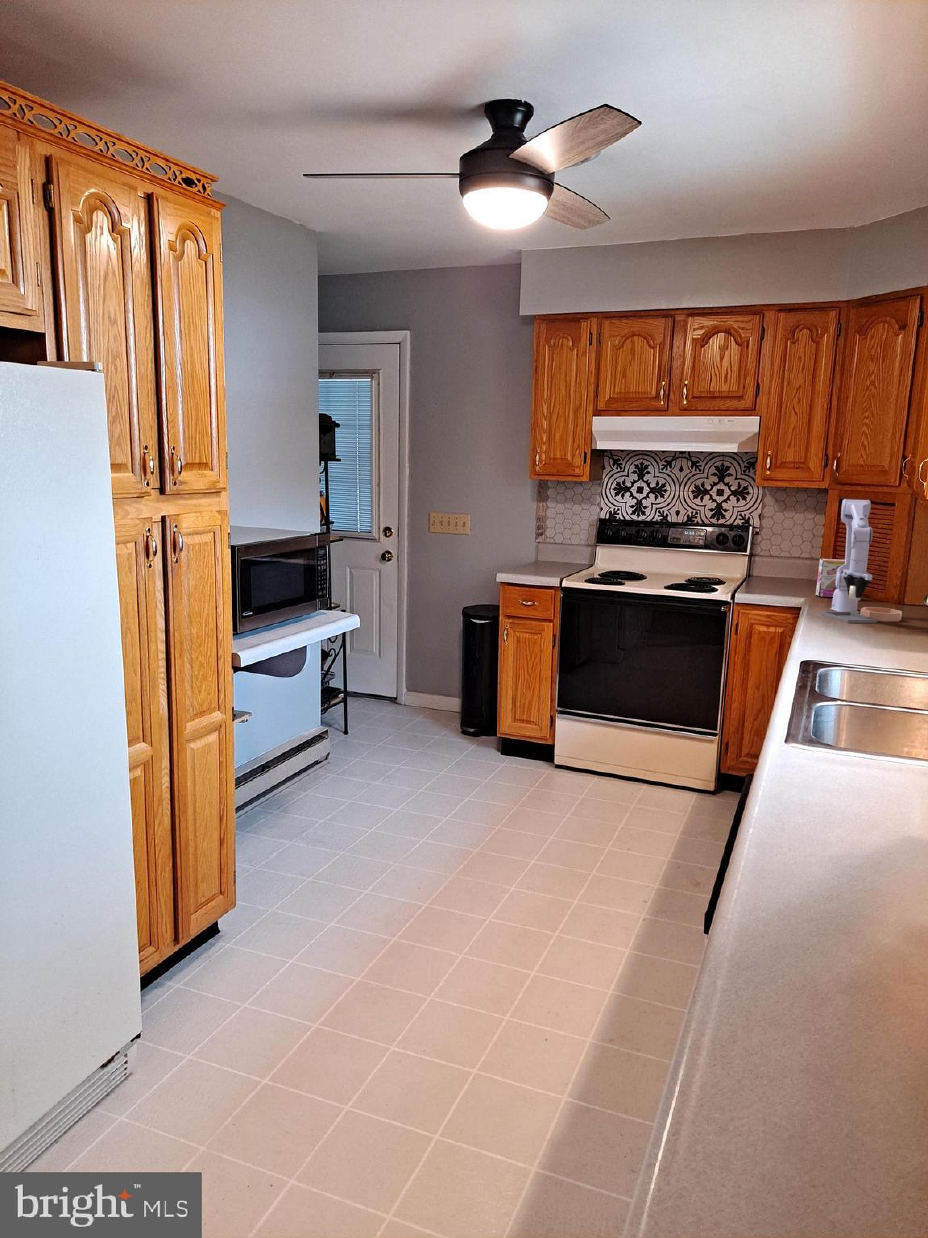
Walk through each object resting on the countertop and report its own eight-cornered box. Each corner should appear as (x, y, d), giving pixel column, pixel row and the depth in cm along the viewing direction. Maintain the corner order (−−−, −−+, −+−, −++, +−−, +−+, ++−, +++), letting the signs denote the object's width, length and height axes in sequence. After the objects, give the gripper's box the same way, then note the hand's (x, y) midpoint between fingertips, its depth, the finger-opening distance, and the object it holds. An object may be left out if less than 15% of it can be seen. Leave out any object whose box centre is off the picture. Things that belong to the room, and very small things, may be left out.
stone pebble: (846, 598, 330) (847, 585, 329) (856, 598, 330) (857, 585, 329) (852, 600, 326) (854, 586, 325) (862, 600, 326) (864, 586, 326)
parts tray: (821, 616, 336) (821, 611, 335) (849, 616, 338) (850, 611, 338) (847, 624, 320) (847, 619, 320) (876, 624, 322) (877, 619, 322)
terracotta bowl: (853, 616, 338) (854, 607, 337) (884, 615, 340) (885, 606, 340) (875, 623, 325) (876, 613, 324) (908, 622, 328) (909, 613, 327)
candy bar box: (818, 597, 381) (822, 559, 378) (815, 595, 386) (819, 558, 383) (845, 598, 380) (849, 560, 377) (841, 597, 385) (845, 559, 382)
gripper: (837, 557, 331) (833, 593, 334) (861, 562, 318) (857, 600, 320) (854, 557, 333) (850, 593, 335) (878, 562, 319) (874, 600, 321)
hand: (854, 596), depth 328 cm, fingers closed on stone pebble, 4 cm apart
